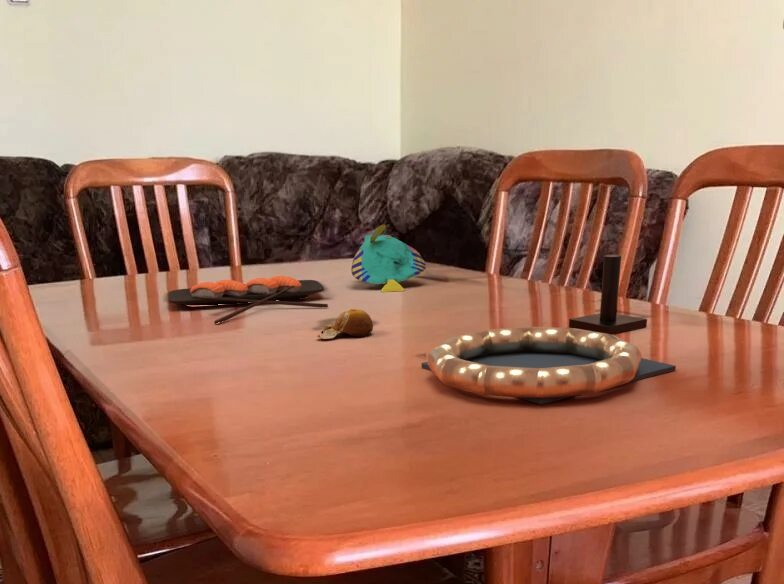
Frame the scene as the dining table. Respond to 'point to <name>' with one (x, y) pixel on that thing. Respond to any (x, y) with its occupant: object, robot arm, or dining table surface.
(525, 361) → the mat
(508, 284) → the dining table surface
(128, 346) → the dining table surface
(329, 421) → the dining table surface
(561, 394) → the ring
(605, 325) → the post
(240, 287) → the sushi plate
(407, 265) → the decorative fish
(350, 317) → the fruit
